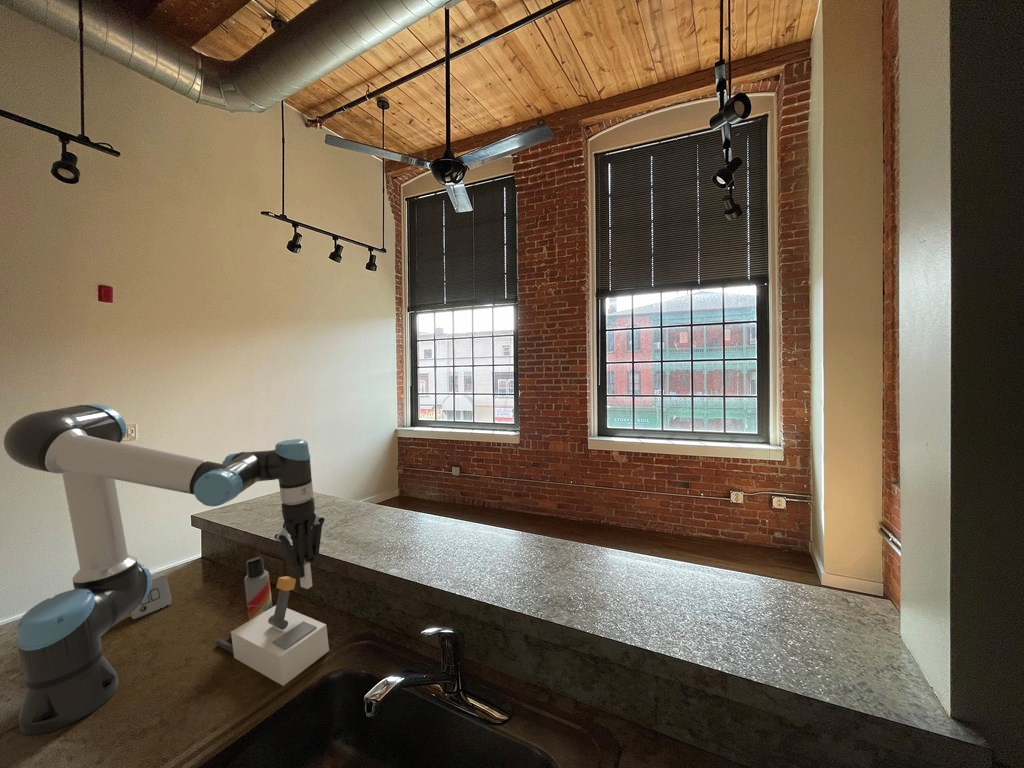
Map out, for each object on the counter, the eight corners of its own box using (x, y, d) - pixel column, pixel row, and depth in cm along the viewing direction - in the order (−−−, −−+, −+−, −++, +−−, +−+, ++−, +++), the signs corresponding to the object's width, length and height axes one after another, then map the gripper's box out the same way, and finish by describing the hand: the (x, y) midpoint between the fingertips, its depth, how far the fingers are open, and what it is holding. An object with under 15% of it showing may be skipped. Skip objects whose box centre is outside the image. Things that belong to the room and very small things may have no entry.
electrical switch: (132, 621, 122) (127, 590, 122) (128, 616, 125) (124, 585, 125) (172, 604, 129) (168, 575, 129) (168, 600, 133) (163, 571, 132)
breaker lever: (266, 625, 104) (276, 576, 107) (275, 622, 106) (285, 575, 109) (278, 630, 102) (289, 581, 104) (287, 628, 104) (297, 579, 106)
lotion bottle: (255, 637, 112) (247, 565, 110) (246, 629, 115) (238, 560, 113) (278, 625, 116) (270, 556, 114) (268, 618, 120) (261, 551, 118)
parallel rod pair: (216, 646, 109) (215, 641, 109) (234, 635, 113) (233, 630, 113) (235, 657, 105) (234, 651, 105) (253, 645, 109) (252, 640, 109)
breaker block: (234, 657, 105) (230, 629, 104) (280, 628, 115) (277, 602, 114) (283, 685, 95) (279, 655, 94) (329, 650, 105) (326, 623, 105)
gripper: (282, 511, 101) (292, 603, 104) (329, 493, 113) (336, 576, 115) (264, 506, 105) (274, 596, 107) (310, 489, 116) (318, 570, 119)
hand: (306, 586), depth 111 cm, fingers closed
